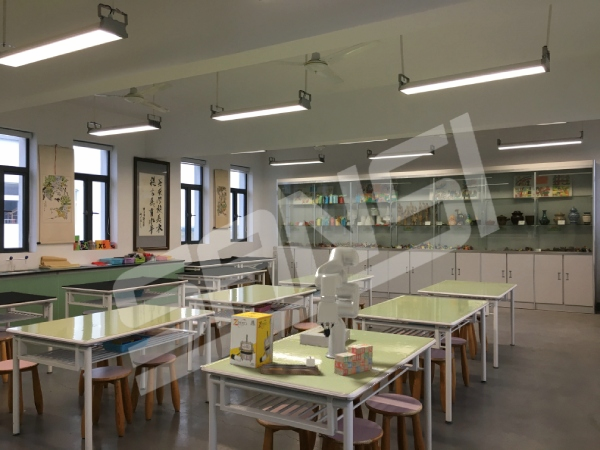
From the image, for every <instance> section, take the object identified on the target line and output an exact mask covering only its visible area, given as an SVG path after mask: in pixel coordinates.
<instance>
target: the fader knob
mask: <svg viewBox="0 0 600 450" xmlns="http://www.w3.org/2000/svg"><path fill="white" fill-rule="evenodd" d="M315 363H316V359H315V356H305V365H306V366H309V367H311V366H315Z"/></svg>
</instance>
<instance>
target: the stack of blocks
mask: <svg viewBox="0 0 600 450" xmlns="http://www.w3.org/2000/svg"><path fill="white" fill-rule="evenodd" d="M373 349H374V346H373V345H371V344H366V343H358V344H354V345H347V350H348V352H346V353H341V354H335V359H334V371H333V372H334V374H338V375H340V376H349V375H352V374H357V373H361V372H366V371H370V370H373V356H374V355H373V353H374V352H373Z"/></svg>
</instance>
